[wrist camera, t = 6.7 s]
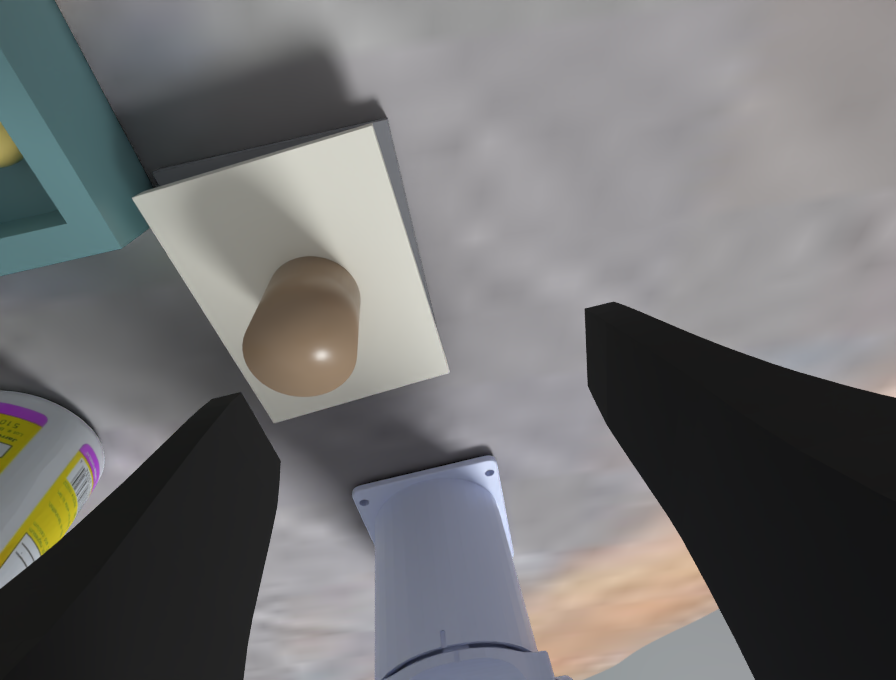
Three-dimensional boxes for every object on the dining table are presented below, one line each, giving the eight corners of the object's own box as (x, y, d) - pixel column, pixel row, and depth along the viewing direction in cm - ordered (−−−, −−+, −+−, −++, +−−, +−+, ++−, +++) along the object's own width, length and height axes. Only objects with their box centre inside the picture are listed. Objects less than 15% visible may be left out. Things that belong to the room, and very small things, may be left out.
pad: (442, 352, 21) (444, 359, 21) (273, 391, 21) (270, 399, 20) (387, 117, 16) (387, 119, 15) (159, 168, 16) (152, 172, 15)
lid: (444, 349, 20) (464, 433, 16) (281, 396, 20) (254, 492, 16) (372, 119, 15) (371, 144, 11) (155, 184, 15) (62, 237, 11)
